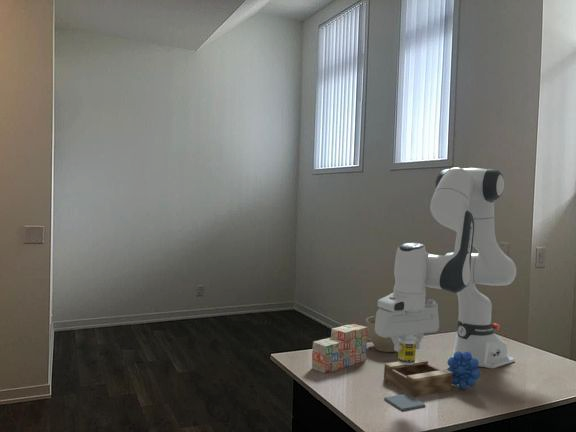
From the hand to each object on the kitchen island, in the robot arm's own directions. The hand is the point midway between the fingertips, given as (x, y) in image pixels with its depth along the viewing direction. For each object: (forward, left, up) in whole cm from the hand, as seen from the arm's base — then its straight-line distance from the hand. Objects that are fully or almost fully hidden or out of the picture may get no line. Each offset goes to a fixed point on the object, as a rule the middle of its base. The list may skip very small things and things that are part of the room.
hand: (406, 349), depth 139 cm
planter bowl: (-26, -43, -16) cm, 52 cm away
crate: (-13, -10, -15) cm, 22 cm away
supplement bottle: (0, 0, -4) cm, 4 cm away
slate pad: (0, 0, -15) cm, 15 cm away
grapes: (-25, -2, -15) cm, 29 cm away
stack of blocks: (+1, -34, -16) cm, 37 cm away
